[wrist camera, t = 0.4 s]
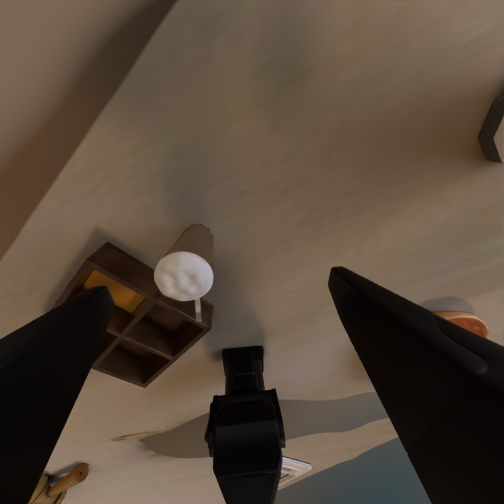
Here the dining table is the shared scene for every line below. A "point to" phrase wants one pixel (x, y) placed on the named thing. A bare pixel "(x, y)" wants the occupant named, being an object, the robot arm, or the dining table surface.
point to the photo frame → (293, 469)
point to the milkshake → (187, 267)
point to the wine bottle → (494, 132)
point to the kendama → (57, 487)
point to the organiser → (137, 317)
